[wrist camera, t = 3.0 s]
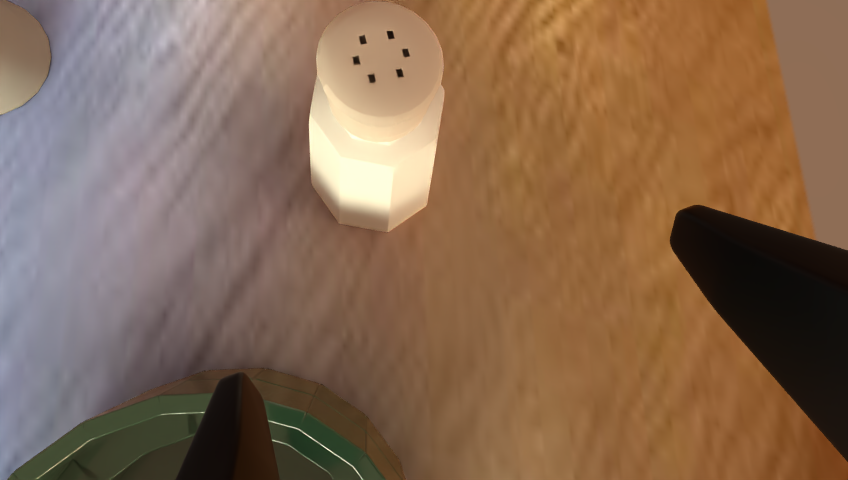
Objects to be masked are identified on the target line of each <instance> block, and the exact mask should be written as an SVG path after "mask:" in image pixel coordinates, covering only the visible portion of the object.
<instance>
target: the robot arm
mask: <svg viewBox="0 0 848 480" xmlns="http://www.w3.org/2000/svg"><path fill="white" fill-rule="evenodd" d="M670 245H671V248H672V250H673V252H674V253H675V254H676V256H677V257H678V259H679V260H680V262H681V263H682V264H683V266H684V267H685V269H686V270H687V271H688V273H689V274H690V276H691V277H692V279H693V280H694V281H695V283H696V284H697V286H698V287H699V289H700V290H701V291H702V293H703V294H704V296H705V297H706V298H707V300H708V301H709V302H710V304H711V305H712V306H713V308H714V309H715V310H716V311H717V313H718V314H719V315H720V316H721V317H722V319H723V320H724V321H725V322H726V323H727V324H728V325H729V327H730V328H731V329H732V330H733V331H734V332H735V333H736V335H737V336H738V337H739V338H740V339H741V340H742V342H743V343H744V344H745V345H746V346H747V347H748V348H749V350H750V351H751V352H752V353H753V354H754V355H755V356H756V358H757V359H758V360H759V361H760V362H761V363H762V364H763V366H764V367H765V368H766V369H767V370H768V371H769V372H770V374H771V375H772V376H773V377H774V378H775V379H776V380H777V382H778V383H779V384H780V385H781V386H782V387H783V388H784V390H785V391H786V392H787V393H788V394H789V395H790V397H791V398H792V399H793V400H794V401H795V402H796V403H797V405H798V406H799V407H800V408H801V409H802V410H803V411H804V413H805V414H806V415H807V416H808V417H809V418H810V419H811V421H812V422H813V423H814V424H815V425H816V426H817V427H818V429H819V430H820V431H821V432H822V433H823V434H824V435H825V437H826V438H827V439H828V440H829V441H830V442H831V443H832V445H833V446H834V447H835V448H836V449H837V450H838V451H839V453H840V454H841V455H842V456H843V457H844V458H845V460H846V461H847V462H848V250H844V249H841V248H837V247H835V246H831V245H828V244H825V243H822V242H819V241H815V240H812V239H809V238H806V237H802V236H799V235H796V234H793V233H789V232H786V231H783V230H780V229H777V228H773V227H770V226H767V225H764V224H760V223H757V222H754V221H751V220H747V219H744V218H741V217H738V216H734V215H731V214H728V213H725V212H721V211H718V210H715V209H712V208H709V207H705V206H702V205H693V206H690V207H687V208H685V209H682V210H680V211H678V213H677V214H676V216H675V220H674V224H673V228H672V232H671V237H670ZM175 480H280V478H279V472H278V467H277V462H276V457H275V453H274V448H273V443H272V438H271V433H270V429H269V424H268V419H267V414H266V409H265V405H264V401H263V398H262V396H261V394H260V392H259V391H258V390H257V388H256V387H255V385H254V384H253V383H252V381H251V380H250V379H249V377H248V376H247V374H246V373H244V372H242V371H240V372H236V373H233V374H231V375H228V376H225V377H223V378H221V379H220V380H219V382H218V383H217V386H216V388H215V390H214V392H213V395H212V397H211V399H210V402H209V404H208V406H207V408H206V411H205V413H204V415H203V418H202V420H201V422H200V424H199V427H198V429H197V431H196V434H195V436H194V438H193V440H192V443H191V445H190V447H189V450H188V452H187V454H186V456H185V459H184V461H183V463H182V465H181V468H180V470H179V472H178V475H177V477H176V479H175Z"/></svg>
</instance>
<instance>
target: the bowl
mask: <svg viewBox="0 0 848 480" xmlns="http://www.w3.org/2000/svg"><path fill="white" fill-rule="evenodd" d="M240 371H242V372H244V373H246V374H247V376H248V377H249V379H250V380H251V381H252V383H253V384H254V385H255V387H256V388H257V390H258V391H259V392H260V394H261V396H262V398H263V401H264V405H265V409H266V414H267V419H268V424H269V429H270V433H271V438H272V443H273V448H274V453H275V457H276V462H277V467H278V472H279V478H280V480H406V478H405V475H404V472H403V469H402V466H401V463H400V461H399V459H398V457H397V456H396V455H395V453H394V452H393V450H392V449H391V448H390V446H389V445H388V444H387V442H386V441H385V440H384V438H383V437H382V436H381V434H380V433H379V432H378V430H377V429H376V428H375V426H374V425H373V424H372V422H371V421H370V420H369V418H368V417H367V416H366V415H365V414H364V413H363V412H361V411H360V410H358V409H357V408H355V407H354V406H352V405H351V404H350V403H348V402H347V401H345V400H344V399H342V398H341V397H339V396H338V395H337V394H335V393H334V392H332V391H331V390H329V389H328V388H326V387H325V386H323V385H322V384H319V383H316V382H313V381H310V380H306V379H303V378H299V377H296V376H292V375H289V374H285V373H282V372H278V371H275V370H271V369H264V368H248V369H220V370H208V371H202V372H199V373H196V374H193V375H191V376H188V377H185V378H182V379H179V380H176V381H173V382H171V383H168V384H165V385H162V386H159V387H156V388H153V389H150V390H148V391H146V392H144V393H142V394H140V395H138V396H136V397H134V398H132V399H130V400H128V401H125V402H123V403H121V404H119V405H117V406H115V407H113V408H111V409H109V410H106V411H104V412H102V413H100V414H98V415H96V416H94V417H92V418H90V419H88V420H86V421H84V422H82V423H80V424H79V425H77V426H76V427H75V428H73V429H72V430H70V431H69V432H68V433H66V434H65V435H63V436H62V437H61V438H59V439H58V440H57V441H55V442H54V443H52V444H51V445H50V446H48V447H47V448H45V449H44V450H43V451H41V452H40V453H38V454H37V455H36V456H34V457H33V458H32V459H30V460H29V461H27V462H26V463H25V464H23V465H22V466H20V467H19V468H18V469H16V470H15V471H14V473H12V474H11V475H10V477H9V478H8V479H7V480H175V479H176V477H177V475H178V472H179V470H180V468H181V465H182V463H183V461H184V459H185V456H186V454H187V452H188V450H189V447H190V445H191V443H192V440H193V438H194V436H195V434H196V431H197V429H198V427H199V424H200V422H201V420H202V418H203V415H204V413H205V411H206V408H207V406H208V404H209V402H210V399H211V397H212V395H213V392H214V390H215V388H216V386H217V383H218V382H219V380H220V379H221V378H223V377H225V376H228V375H231V374H233V373H236V372H240Z"/></svg>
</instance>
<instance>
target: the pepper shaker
mask: <svg viewBox="0 0 848 480" xmlns="http://www.w3.org/2000/svg"><path fill="white" fill-rule="evenodd" d="M316 62H317V78H316V83H315V88H314V93H313V98H312V103H311V110H310V118H309V139H310V165H311V185H312V186H313V187H314V189H315V190H316V192H317V193H318V194H319V196H320V197H321V199H322V200H323V202H324V203H325V204H326V206H327V207H328V209H329V210H330V211H331V213H332V214H333V216H334V217H335V219H336V220H337V221H338V223H339V224H342V225H348V226H353V227H359V228H364V229H370V230H376V231H381V232H387V233H388V232H389V231H391V230H392V229H394V228H395V227H396V226H398V225H399V224H401V223H402V222H404V221H405V220H407V219H408V218H409V217H411V216H412V215H414V214H415V213H417V212H418V211H420V210H421V209H422V208H424V207H425V206H427V201H428V195H429V189H430V183H431V177H432V171H433V165H434V159H435V153H436V146H437V140H438V134H439V128H440V121H441V115H442V109H443V102H444V88H443V87H442V85H441V81H442V76H443V70H444V63H443V53H442V49H441V46H440V44H439V41H438V39H437V36H436V35H435V33H434V32H433V30H432V29H431V28H430V26H429V25H428V23H427V22H426V21H424V20H423V19H422V18H421V17H420V16H418V15H417V14H416V13H415V12H413V11H411V10H409V9H407V8H405V7H403V6H401V5H398V4H394V3H389V2H385V1H371V2H364V3H360V4H357V5H354V6H351V7H349V8H347V9H346V10H344V11H342V12H341V13H339V14H338V15H337V16H336V17H335V18H334V19H333V20H332V21H331V22H330V23H329V24H328V25H327V26H326V28H325V30H324V32H323V34H322V36H321V38H320V40H319V44H318V49H317V54H316Z"/></svg>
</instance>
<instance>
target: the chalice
mask: <svg viewBox="0 0 848 480" xmlns="http://www.w3.org/2000/svg"><path fill="white" fill-rule="evenodd" d="M50 61H51V53H50V46H49V40H48V37H47V36H46V34H45V32H44V30H43V28H42V27H41V25H40V23H39V22H38V21H37V20H36V19H35V18H34V17H33V16H32V15H31V14H30V13H28V12H27V11H26V10H25V9H23V8H21V7H19V6H17V5H15V4H13V3H11V2H9V1H7V0H0V114H4V113H7V112H9V111H11V110H13V109H15V108H18V107H20V106H22V105H23V104H25V103H26V102H27V101H28V100H29V99H30V98H32V97H33V96H34V95H35V94H36V93H37V92H38V91H39V89H40V87H41V86H42V84H43V82H44V81H45V79H46V77H47V76H48V71H49V66H50Z"/></svg>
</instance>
